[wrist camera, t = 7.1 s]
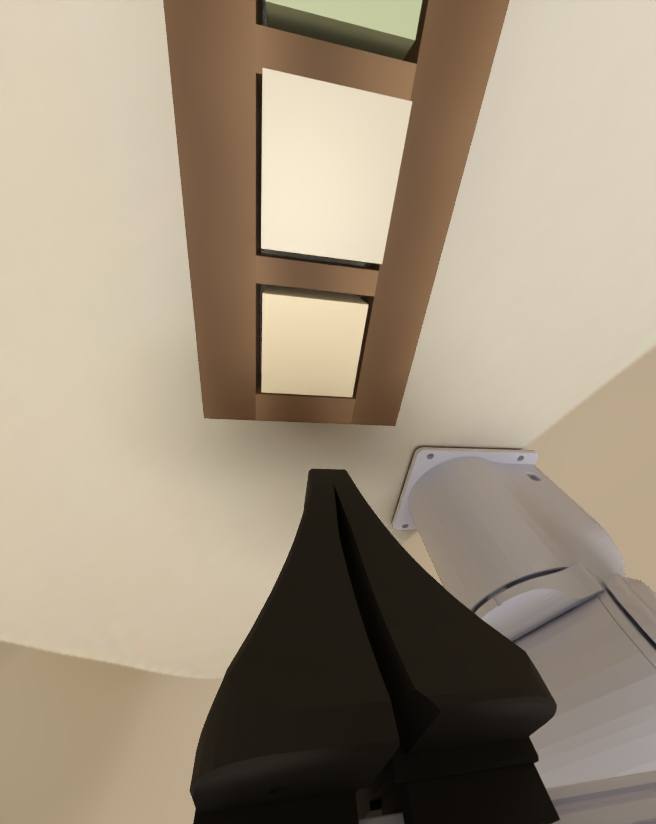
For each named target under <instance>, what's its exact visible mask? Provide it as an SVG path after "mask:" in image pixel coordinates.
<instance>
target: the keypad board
mask: <svg viewBox="0 0 656 824" xmlns="http://www.w3.org/2000/svg"><path fill="white" fill-rule="evenodd" d="M163 1H164V12H165V22H166V32H167V42H168V53H169V63H170V73H171V83H172V94H173V104H174V114H175V124H176V135H177V145H178V155H179V166H180V176H181V186H182V196H183V207H184V217H185V227H186V237H187V248H188V258H189V268H190V278H191V289H192V299H193V309H194V319H195V330H196V340H197V350H198V361H199V371H200V381H201V391H202V402H203V412H204V418H210V419H235V420H260V421H285V422H311V423H336V424H361V425H386V426H395V424H396V421H397V417H398V413H399V410H400V406H401V402H402V398H403V395H404V391H405V387H406V384H407V380H408V376H409V372H410V369H411V365H412V361H413V357H414V354H415V350H416V346H417V343H418V339H419V335H420V331H421V328H422V324H423V320H424V317H425V313H426V309H427V305H428V302H429V298H430V294H431V290H432V287H433V283H434V279H435V276H436V272H437V268H438V264H439V261H440V257H441V253H442V250H443V246H444V242H445V238H446V235H447V231H448V227H449V224H450V220H451V216H452V212H453V209H454V205H455V201H456V197H457V194H458V190H459V186H460V183H461V179H462V175H463V171H464V168H465V164H466V160H467V157H468V153H469V149H470V145H471V142H472V138H473V134H474V130H475V127H476V123H477V119H478V116H479V112H480V108H481V104H482V101H483V97H484V93H485V90H486V86H487V82H488V78H489V75H490V71H491V67H492V64H493V60H494V56H495V52H496V49H497V45H498V41H499V37H500V34H501V30H502V26H503V23H504V19H505V15H506V11H507V8H508V4H509V0H422V5H421V11H420V16H419V22H418V28H417V33H416V39H415V42H414V43H413V45H412V46H411V48H410V49H409V51H408V53H407V54H406V56H405V57H404V59H403V61H402V60H398V59H394V58H390V57H386V56H382V55H378V54H374V53H370V52H366V51H362V50H358V49H354V48H350V47H346V46H342V45H338V44H334V43H330V42H326V41H322V40H318V39H314V38H310V37H306V36H302V35H298V34H294V33H290V32H286V31H282V30H278V29H274V28H270V27H266V26H262V24H263V0H163ZM263 68H266V69H271V70H275V71H280V72H284V73H289V74H293V75H297V76H302V77H306V78H311V79H315V80H319V81H324V82H328V83H333V84H337V85H342V86H346V87H350V88H355V89H359V90H364V91H368V92H373V93H377V94H381V95H386V96H390V97H395V98H399V99H403V100H408V101H412V106H411V112H410V117H409V123H408V128H407V133H406V139H405V144H404V149H403V155H402V160H401V166H400V171H399V176H398V182H397V187H396V192H395V198H394V203H393V209H392V214H391V219H390V225H389V230H388V235H387V241H386V246H385V252H384V257H383V262H382V264H377V263H369V262H366V266H365V267H364V266H356V265H348V264H340V263H332V262H325V261H317V260H309V259H301V258H293V257H285V256H278V255H270V254H262V253H261V155H262V72H263ZM261 284H267V285H276V286H285V287H294V288H303V289H312V290H321V291H330V292H339V293H348V294H357V295H361V297H360V298H361V299H362V300H363V301H364V302H366V303H367V304H368V311H367V316H366V322H365V328H364V333H363V339H362V345H361V350H360V356H359V362H358V367H357V373H356V379H355V384H354V390H353V396H352V397H337V396H319V395H301V394H282V393H264V392H261V383H262V374H260V287H261Z"/></svg>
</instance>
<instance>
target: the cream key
mask: <svg viewBox="0 0 656 824" xmlns="http://www.w3.org/2000/svg"><path fill="white" fill-rule="evenodd" d="M367 311H368V304H367V303H366V302H364V301H363V300H362V299H361V298H359V297H358V296H357V295H348V294H339V293H330V292H321V291H312V290H303V289H294V288H285V287H276V286H267V285H266V287H265V289H264V291H263V293H262V383H261V392H264V393H282V394H301V395H319V396H337V397H352V396H353V390H354V384H355V379H356V373H357V367H358V362H359V356H360V350H361V345H362V339H363V333H364V328H365V322H366V316H367Z"/></svg>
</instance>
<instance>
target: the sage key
mask: <svg viewBox="0 0 656 824" xmlns="http://www.w3.org/2000/svg"><path fill="white" fill-rule="evenodd" d="M421 5H422V0H266V11H267V22H268V27H270V28H274V29H278V30H282V31H286V32H290V33H294V34H298V35H302V36H306V37H310V38H314V39H318V40H322V41H326V42H330V43H334V44H338V45H342V46H346V47H350V48H354V49H358V50H362V51H366V52H370V53H374V54H378V55H382V56H386V57H390V58H394V59H398V60H402V61H403V59H404V57H405V56H406V54H407V53H408V51H409V49H410V48H411V46H412V45H413V43H414V42H415V39H416V33H417V28H418V22H419V16H420V11H421Z"/></svg>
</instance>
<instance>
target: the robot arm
mask: <svg viewBox="0 0 656 824" xmlns="http://www.w3.org/2000/svg"><path fill="white" fill-rule="evenodd" d="M430 453H431V454H430ZM428 454H430V455H429V456H427V455H428ZM538 457H539V455H538V454H537V453H536V452H535V451H533V450H503V449H468V448H432V447H422V448H419V449H417V450H416V452H415V454H414V457H413V460H412V463H411V466H410V469H409V472H408V475H407V478H406V481H405V485H404V488H403V491H402V494H401V497H400V500H399V503H398V506H397V509H396V512H395V515H394V519H393V522H392V526H393V528H394V529H395V530H418V531H419V534H420V536H421V538H422V540H423V542H424V545H425V547H426V549H427V551H428V553H429V556H430V558H431V560H432V562H433V564H434V567H435V569H436V571H437V573H438V576H439V578H440V580H441V582H442V584H443V586H442V585H440V584H439V583H438V582H437V581H436V580H435V579H434V578H433V577H431V575H429V574H428V573H427V572H426V571H425V570H424V569H423V568H422V567H421V566H420V565H419V564H418V563H417V562H416V561H415V560H414V559H413V558H412V557H411V556H410V555H409V554H408V552H407V551H406V550H405V549H404V548H403V547H402V546H401V545H400V544H399V542H398V541H397V540H396V539H395V538H394V537H393V535H392V534H391V533H390V532H389V531H388V529H387V528H386V527H385V526H384V524H383V523H382V522H381V521H380V519H379V518H378V517H377V515H376V514H375V513H374V511H373V510H372V509H371V507H370V506H369V505H368V503H367V502H366V500H365V499H364V497H363V496H362V494H361V493H360V491H359V490H358V488H357V487H356V485H355V484H354V482H353V481H352V479H351V477H350V476H349V474H348V473H347V471H346V470H336V469H311V470H310V471H309V473H308V481H307V489H306V496H305V504H304V512H303V516H302V519H301V522H300V525H299V528H298V531H297V534H296V537H295V539H294V542H293V545H292V547H291V550H290V552H289V554H288V557H287V559H286V562H285V564H284V566H283V568H282V570H281V572H280V575H279V577H278V579H277V581H276V583H275V585H274V587H273V589H272V591H271V593H270V595H269V597H268V599H267V601H266V603H265V605H264V607H263V608H262V610H261V612H260V614H259V616H258V618H257V620H256V622H255V623H254V625H253V627H252V629H251V630H250V632H249V634H248V636H247V637H246V639H245V641H244V642H243V644H242V646H241V647H240V649H239V651H238V652H237V654H236V656H235V657H234V659H233V661H232V662H231V664H230V666H229V667H228V669H227V671H226V673H225V676H224V679H223V681H222V684H221V686H220V688H219V690H218V692H217V695H216V697H215V699H214V702H213V704H212V707H211V709H210V711H209V714H208V716H207V719H206V721H205V724H204V727H203V729H202V732H201V736H200V739H199V743H198V747H197V750H196V756H195V762H194V768H193V775H192V781H191V786H190V793H191V796H192V798H193V801H194V804H195V807H196V811H195V817H194V823H193V824H656V593H655V592H654V591H653V590H652V589H651V588H649V587H648V586H647V585H646V584H645V583H643V582H642V581H640V580H636V579H632V578H628V577H625V568H624V564H623V561H622V558H621V555H620V553H619V551H618V549H617V547H616V545H615V543H614V542H613V540H612V538H611V537H610V536H609V534H608V533H607V532H606V531H605V529H604V528H603V527H602V526H601V525H600V524H598V522H597V521H596V520H595V519H593V518H592V517H591V516H590V515H589V514H588V513H587V512H586V511H584V510H583V509H582V508H581V507H580V506H579V505H578V504H577V503H576V502H574V500H572V499H571V498H570V497H569V496H568V495H567V494H566V493H565V492H564V491H562V490H561V489H560V488H559V487H558V486H557V485H556V484H555V483H554V482H553V481H551V480H550V479H549V478H548V477H547V476H546V475H545V474H543V472H541V471H540V470H539V469H538V468H537V467H536V466H535V463H536V461H537V460H538Z"/></svg>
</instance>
